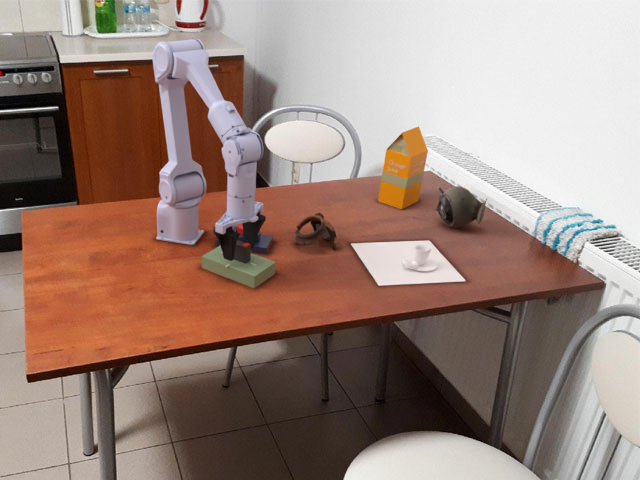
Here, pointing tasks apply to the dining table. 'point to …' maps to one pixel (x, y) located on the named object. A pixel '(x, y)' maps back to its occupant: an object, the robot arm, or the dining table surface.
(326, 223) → the dark brown ringed frame
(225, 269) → the green toggle switch panel
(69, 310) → the dining table surface
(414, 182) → the orange juice
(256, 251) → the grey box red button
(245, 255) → the grey box red tab
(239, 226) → the button
